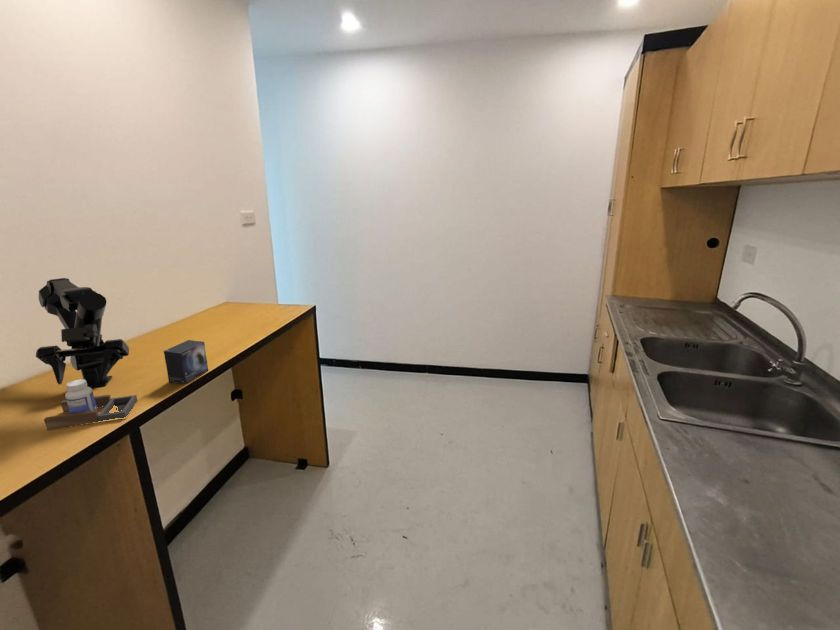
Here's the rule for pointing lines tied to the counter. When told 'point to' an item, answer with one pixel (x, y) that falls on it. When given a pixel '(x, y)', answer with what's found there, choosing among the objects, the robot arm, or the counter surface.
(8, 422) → the counter surface
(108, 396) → the walnut channel
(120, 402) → the dark shallow tray
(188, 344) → the small box
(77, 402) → the pill bottle
